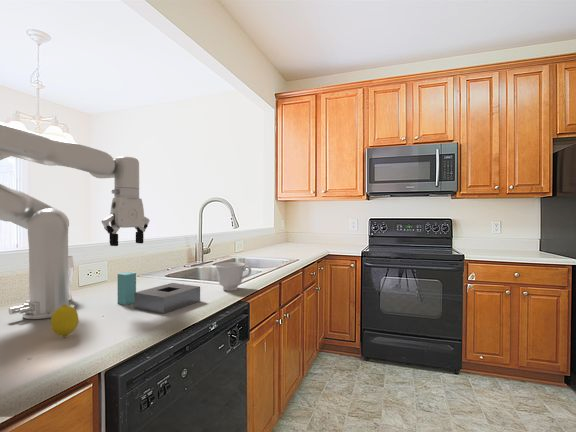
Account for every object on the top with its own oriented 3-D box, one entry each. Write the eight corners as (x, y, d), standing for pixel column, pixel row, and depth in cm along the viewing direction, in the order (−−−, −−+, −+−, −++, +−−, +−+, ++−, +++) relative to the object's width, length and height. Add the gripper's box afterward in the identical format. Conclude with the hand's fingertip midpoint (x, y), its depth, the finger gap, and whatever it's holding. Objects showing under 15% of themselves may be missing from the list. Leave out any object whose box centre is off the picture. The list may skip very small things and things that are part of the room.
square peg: (125, 305, 106) (125, 275, 106) (117, 303, 107) (117, 273, 107) (136, 302, 109) (136, 272, 109) (128, 300, 111) (128, 271, 111)
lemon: (83, 332, 81) (83, 301, 81) (68, 341, 76) (68, 308, 76) (60, 333, 81) (60, 301, 81) (45, 341, 76) (44, 308, 76)
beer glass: (78, 298, 114) (78, 256, 114) (59, 303, 107) (59, 258, 107) (63, 296, 116) (63, 255, 115) (44, 302, 109) (43, 258, 109)
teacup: (244, 294, 120) (244, 267, 120) (209, 291, 124) (209, 265, 124) (256, 287, 132) (256, 263, 132) (223, 284, 136) (223, 261, 136)
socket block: (163, 313, 97) (163, 297, 97) (134, 308, 102) (134, 292, 102) (200, 300, 111) (200, 286, 111) (172, 296, 117) (172, 282, 117)
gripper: (110, 192, 99) (110, 247, 99) (155, 195, 114) (155, 242, 114) (94, 192, 102) (95, 246, 102) (141, 195, 118) (141, 241, 118)
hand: (127, 244), depth 108 cm, fingers open, 9 cm apart
